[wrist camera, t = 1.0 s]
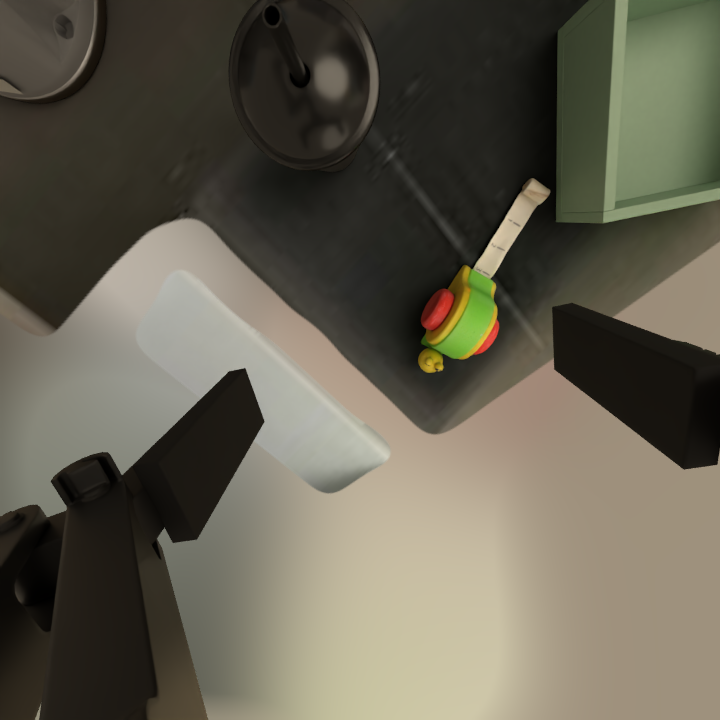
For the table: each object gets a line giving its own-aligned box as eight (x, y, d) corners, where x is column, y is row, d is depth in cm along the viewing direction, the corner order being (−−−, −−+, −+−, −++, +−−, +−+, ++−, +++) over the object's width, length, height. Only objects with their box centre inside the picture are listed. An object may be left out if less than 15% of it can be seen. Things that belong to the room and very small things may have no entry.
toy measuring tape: (394, 347, 37) (400, 372, 31) (508, 165, 31) (543, 152, 24) (444, 373, 38) (459, 403, 32) (565, 204, 32) (612, 200, 26)
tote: (557, 31, 27) (616, -28, 21) (753, -20, 26) (884, -100, 19) (555, 222, 32) (602, 223, 26) (719, 188, 31) (812, 180, 24)
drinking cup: (353, 68, 28) (327, -222, 10) (388, 166, 31) (418, 88, 12) (270, 112, 29) (106, -68, 11) (310, 203, 32) (232, 183, 13)
